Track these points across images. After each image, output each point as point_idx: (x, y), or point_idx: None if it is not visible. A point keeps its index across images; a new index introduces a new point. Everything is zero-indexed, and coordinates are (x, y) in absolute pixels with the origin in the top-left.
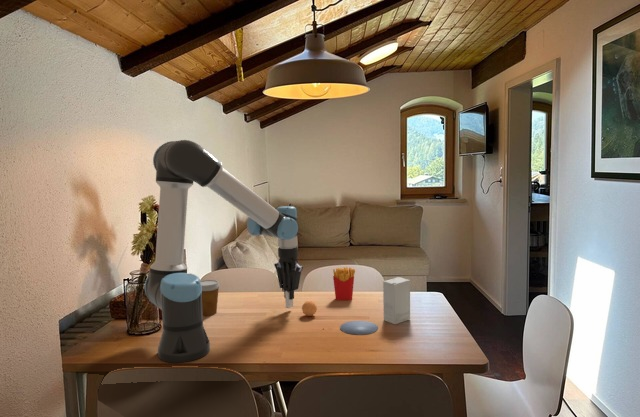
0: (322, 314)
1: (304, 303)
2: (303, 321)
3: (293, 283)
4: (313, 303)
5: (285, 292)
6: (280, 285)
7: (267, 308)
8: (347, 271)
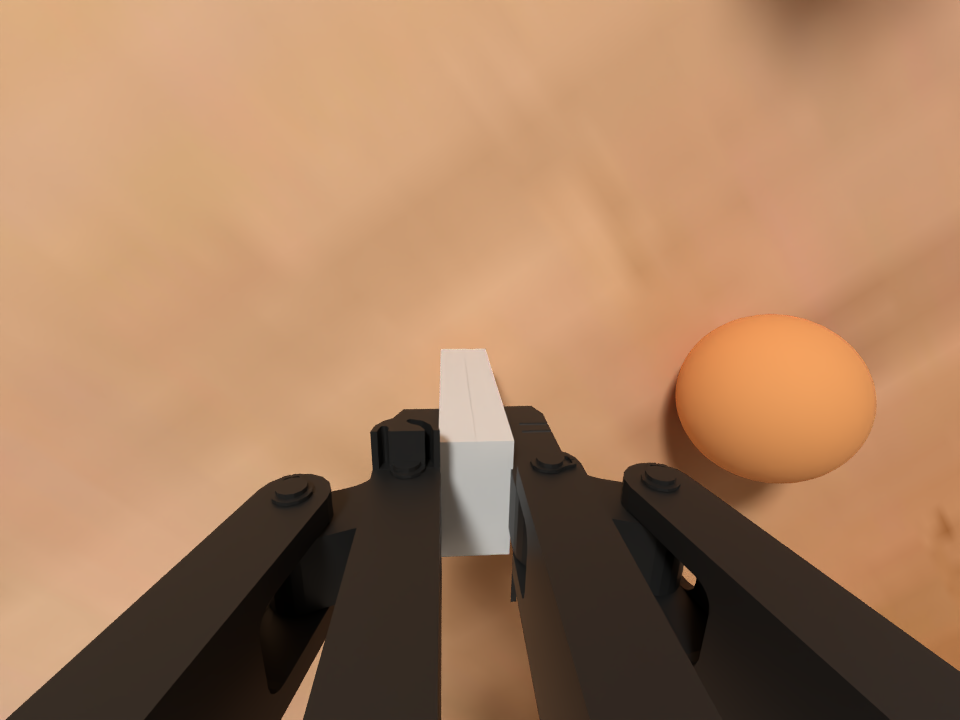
0: (815, 270)
1: (767, 469)
2: (739, 502)
3: (731, 715)
4: (874, 411)
5: (446, 541)
6: (288, 634)
7: (219, 446)
8: None
